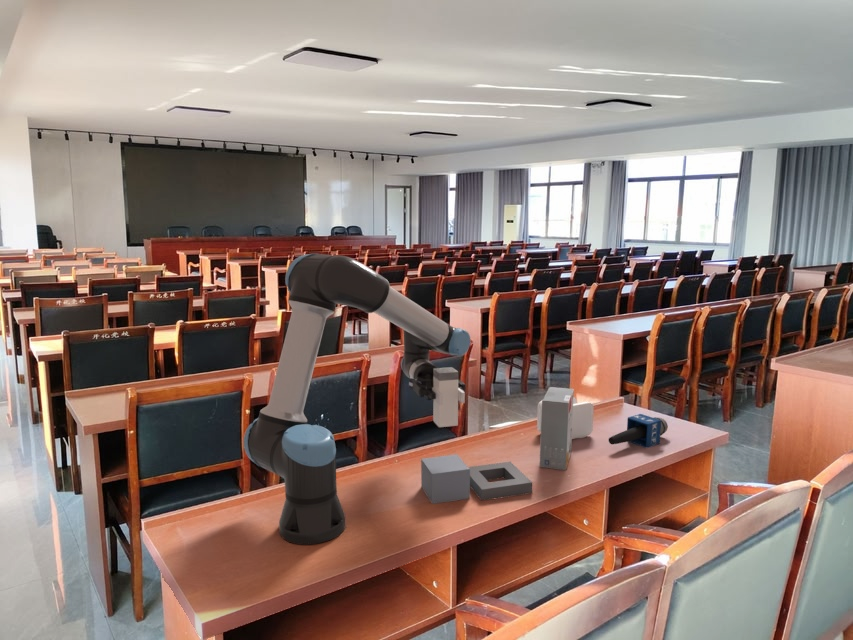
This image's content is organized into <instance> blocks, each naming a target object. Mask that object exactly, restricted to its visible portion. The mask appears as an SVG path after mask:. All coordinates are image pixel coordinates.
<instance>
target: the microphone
mask: <svg viewBox="0 0 853 640" xmlns="http://www.w3.org/2000/svg"><path fill="white" fill-rule="evenodd" d="M668 426H669V425H668V422H667V421H666V420H665V419H664V418H662V417H651V416H649V415H645V414H643V413H639V414H635V415H633V416H628V417H627V422H626V430H624V431H620V432H619V433H617V434H615V435H612V436H610V437H609V438H608V442H609V444H610V445H617V444H622V443H623V444H624V443H626V442H629V443H631V444H634V445H637V446H640V447H642V448H646V449H648V448H650V447H654V446H657V445H660V443H661V436H662V435H664V434H665V433H666V432H667V431H668Z"/></svg>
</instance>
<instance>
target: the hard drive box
mask: <svg viewBox="0 0 853 640" xmlns="http://www.w3.org/2000/svg"><path fill="white" fill-rule="evenodd" d="M574 391H575V389H574V388H565V387H555V386H549V387H548V389H547V391H546V392H545V394H544V396H543V398H542V400H541V401H542V416H541V432H540V437H539V438H540V442H539V463H538V465H539V467H541V468H545V469H554V470H560V471H561V470H563V471H566V469H567V467H568V463H569V460H570V457H571V453H572V444H573V443H572V442H573V441H572V440H573V439H572V419H573V397H574V393H575V392H574Z"/></svg>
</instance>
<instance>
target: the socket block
mask: <svg viewBox="0 0 853 640" xmlns="http://www.w3.org/2000/svg"><path fill="white" fill-rule="evenodd" d="M468 467H469V469H470V489H472V491H473V492H474V493H475V494H476V496H479V497H478V498H479V499H480V500H481V501H482V500H483V501H487V500H488V499H489V500H494V498H496V499H502V498H501V497H503V498H508V496H509V497H515V496H521V495H522V496H523V495H528V494H529V493H530V494H533V481H532V480H531V479H530V478H529V477H527V475H525V474H524V473H523V472H522V471H521V470H520V469H519V468H518V467H517V466H515V464H514V463H512V461H505V462H497V463H489V464H488V463H487V464H481V465H473V466H468ZM497 478H499V479H502V480H498V479H497ZM489 479H492V480H496V481H491V482H489V481H490V480H489ZM503 479H504V480H503ZM489 500H488V501H489Z"/></svg>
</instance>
